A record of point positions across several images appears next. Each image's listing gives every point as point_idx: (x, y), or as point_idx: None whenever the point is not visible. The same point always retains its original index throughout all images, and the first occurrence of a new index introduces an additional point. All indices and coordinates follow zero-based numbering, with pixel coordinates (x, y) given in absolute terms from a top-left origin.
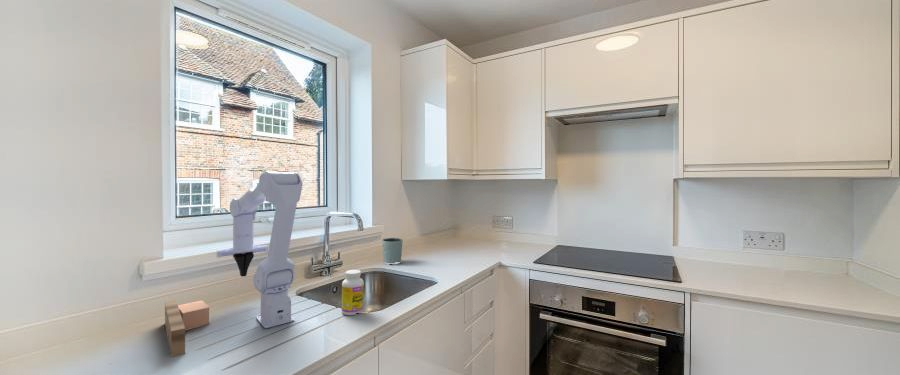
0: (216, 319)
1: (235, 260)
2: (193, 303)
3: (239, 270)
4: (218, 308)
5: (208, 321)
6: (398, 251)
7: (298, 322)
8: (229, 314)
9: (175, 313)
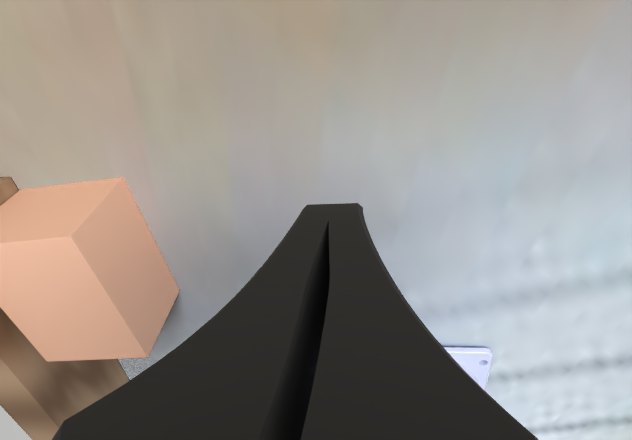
0: (203, 261)
1: (166, 374)
2: (38, 265)
3: (284, 245)
4: (191, 96)
5: (173, 300)
6: None
7: None
8: (258, 235)
9: (28, 409)
